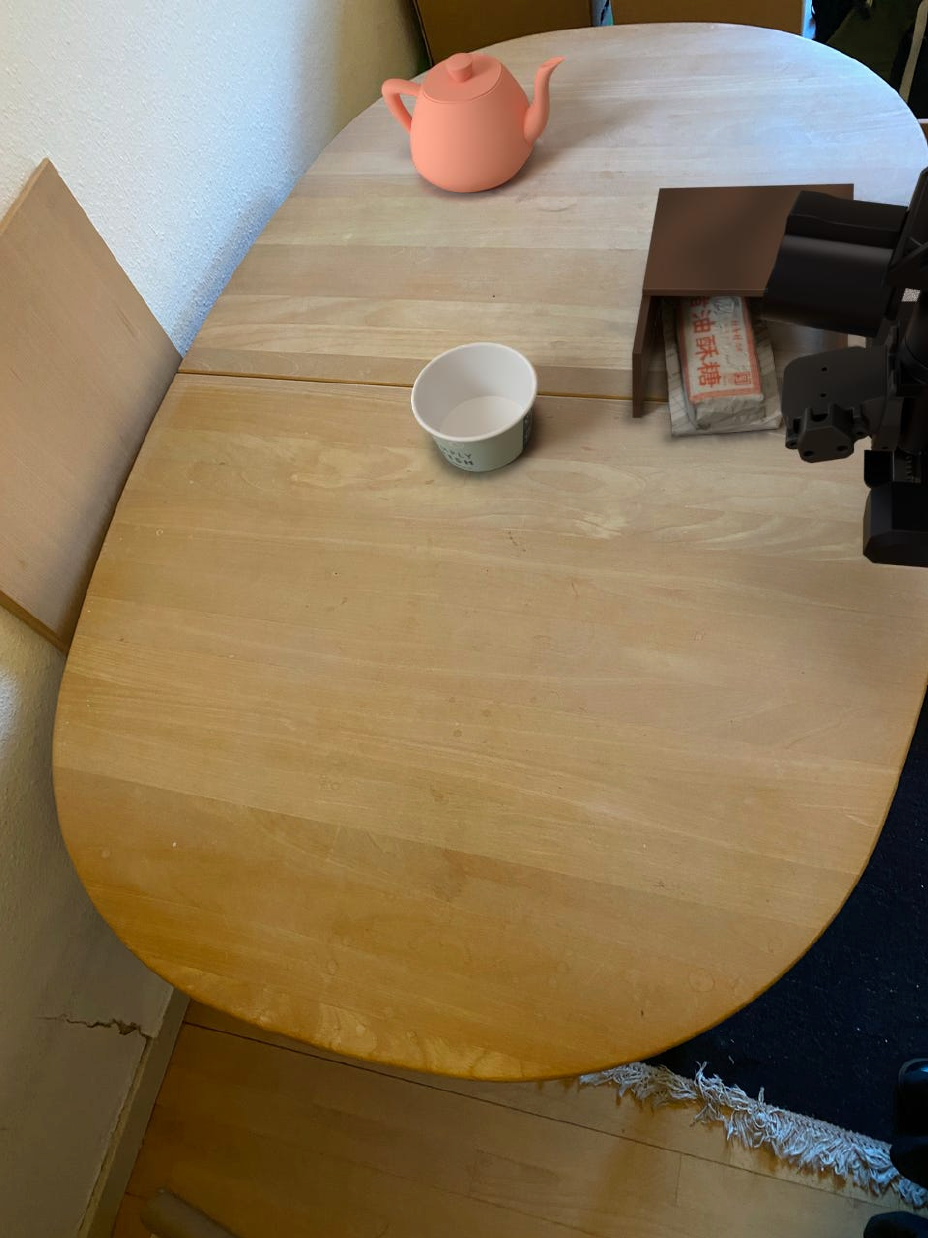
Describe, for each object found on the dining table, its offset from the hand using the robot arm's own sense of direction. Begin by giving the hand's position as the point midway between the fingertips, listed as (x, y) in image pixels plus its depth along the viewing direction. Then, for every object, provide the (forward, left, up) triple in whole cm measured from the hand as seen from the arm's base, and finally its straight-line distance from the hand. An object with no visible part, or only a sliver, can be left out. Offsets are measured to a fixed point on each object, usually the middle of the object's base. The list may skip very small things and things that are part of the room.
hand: (887, 506), depth 58 cm
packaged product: (+12, -24, -12) cm, 30 cm away
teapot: (+43, -56, -12) cm, 72 cm away
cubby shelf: (+11, -27, -12) cm, 31 cm away
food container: (+34, -14, -12) cm, 39 cm away
